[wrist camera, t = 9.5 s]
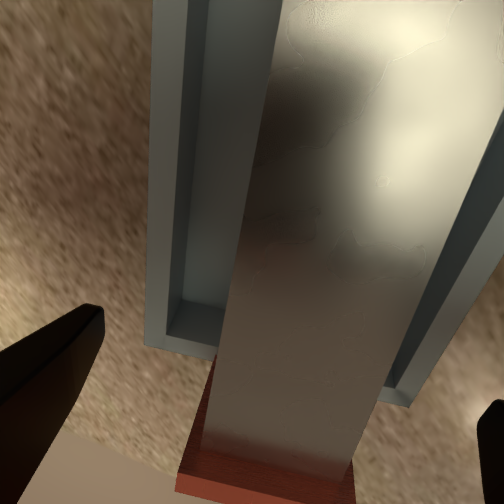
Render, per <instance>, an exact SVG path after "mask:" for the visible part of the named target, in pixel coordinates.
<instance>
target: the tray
mask: <svg viewBox="0 0 504 504" xmlns="http://www.w3.org/2000/svg"><path fill="white" fill-rule="evenodd" d="M282 4H283V0H153V11H152V50H151V90H150V129H149V169H148V208H147V248H146V287H145V327H144V345H146V346H150V347H154V348H158V349H163V350H167V351H171V352H175V353H179V354H184V355H188V356H192V357H196V358H201V359H205V360H209V361H214V357H215V354H216V355H217V354H218V349H219V343H220V338H221V332H222V327H223V322H224V316H225V311H226V306H227V300H228V295H229V289H230V284H231V279H232V273H233V268H234V263H235V257H236V252H237V246H238V241H239V236H240V230H241V225H242V219H243V214H244V209H245V203H246V198H247V193H248V187H249V182H250V176H251V171H252V166H253V160H254V155H255V149H256V144H257V139H258V133H259V128H260V123H261V117H262V112H263V106H264V101H265V96H266V90H267V85H268V80H269V74H270V69H271V63H272V58H273V53H274V47H275V42H276V36H277V31H278V26H279V20H280V15H281V10H282ZM503 255H504V108H503V110H502V113H501V115H500V117H499V120H498V122H497V124H496V126H495V129H494V131H493V133H492V136H491V138H490V140H489V143H488V145H487V147H486V150H485V152H484V154H483V156H482V159H481V161H480V163H479V166H478V168H477V170H476V173H475V175H474V177H473V180H472V182H471V184H470V187H469V189H468V191H467V193H466V196H465V198H464V200H463V203H462V205H461V207H460V210H459V212H458V214H457V217H456V219H455V221H454V223H453V226H452V228H451V230H450V233H449V235H448V237H447V240H446V242H445V244H444V247H443V249H442V251H441V253H440V256H439V258H438V260H437V263H436V265H435V267H434V270H433V272H432V274H431V277H430V279H429V281H428V283H427V286H426V288H425V290H424V293H423V295H422V297H421V300H420V302H419V304H418V307H417V309H416V311H415V313H414V316H413V318H412V320H411V323H410V325H409V327H408V330H407V332H406V334H405V337H404V339H403V341H402V343H401V346H400V348H399V350H398V353H397V355H396V357H395V360H394V362H393V364H392V367H391V369H390V371H389V374H388V376H387V378H386V380H385V383H384V385H383V387H382V390H381V392H380V394H379V397H378V399H377V400H378V401H382V402H386V403H391V404H395V405H399V406H403V407H408V408H409V407H410V405H411V404H412V402H413V400H414V399H415V397H416V396H417V394H418V392H419V391H420V389H421V387H422V386H423V384H424V383H425V381H426V379H427V378H428V376H429V375H430V373H431V371H432V370H433V368H434V366H435V365H436V363H437V362H438V360H439V358H440V357H441V355H442V354H443V352H444V350H445V349H446V347H447V345H448V344H449V342H450V341H451V339H452V337H453V336H454V334H455V332H456V331H457V329H458V328H459V326H460V324H461V323H462V321H463V320H464V318H465V316H466V315H467V313H468V311H469V310H470V308H471V307H472V305H473V303H474V302H475V300H476V299H477V297H478V295H479V294H480V292H481V290H482V289H483V287H484V286H485V284H486V282H487V281H488V279H489V278H490V276H491V274H492V273H493V271H494V269H495V268H496V266H497V265H498V263H499V261H500V260H501V258H502V256H503Z"/></svg>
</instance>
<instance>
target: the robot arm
mask: <svg viewBox="0 0 504 504" xmlns="http://www.w3.org/2000/svg"><path fill="white" fill-rule="evenodd" d="M104 336H105V319H104V309H103V308H102V307H101V306H97V305H93V304H89V303H85V304H82V305H81V306H79V307H77V308H75V309H74V310H72V311H70V312H68V313H67V314H65V315H63V316H61V317H60V318H58V319H56V320H54V321H53V322H51V323H49V324H47V325H46V326H44V327H42V328H40V329H39V330H37V331H35V332H33V333H32V334H30V335H28V336H26V337H25V338H23V339H21V340H19V341H18V342H16V343H14V344H12V345H11V346H9V347H7V348H5V349H4V350H2V351H0V504H17V502H18V501H19V499H20V497H21V495H22V494H23V492H24V490H25V488H26V487H27V485H28V483H29V482H30V480H31V478H32V476H33V475H34V473H35V471H36V470H37V468H38V466H39V465H40V463H41V461H42V459H43V458H44V456H45V454H46V453H47V451H48V449H49V447H50V446H51V444H52V442H53V440H54V439H55V437H56V435H57V434H58V432H59V430H60V429H61V427H62V425H63V423H64V422H65V420H66V418H67V417H68V415H69V413H70V411H71V410H72V408H73V406H74V404H75V402H76V401H77V399H78V396H79V394H80V392H81V390H82V388H83V385H84V383H85V381H86V379H87V376H88V374H89V372H90V370H91V367H92V365H93V363H94V361H95V358H96V356H97V354H98V352H99V349H100V347H101V345H102V343H103V340H104ZM477 438H478V448H479V458H480V467H481V477H482V486H483V494H484V501H485V504H504V400H501V399H497V400H495V401H493V402H492V403H491V405H490V406H489V407H488V409H487V410H486V411H485V412H484V414H483V415H482V416H481V417H480V419H479V421H478V423H477Z"/></svg>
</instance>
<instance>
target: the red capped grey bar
mask: <svg viewBox="0 0 504 504" xmlns="http://www.w3.org/2000/svg"><path fill="white" fill-rule="evenodd" d="M503 108H504V0H283V4H282V10H281V15H280V20H279V26H278V31H277V36H276V42H275V47H274V53H273V58H272V63H271V69H270V74H269V80H268V85H267V90H266V96H265V101H264V106H263V112H262V117H261V123H260V128H259V133H258V139H257V144H256V149H255V155H254V160H253V166H252V171H251V176H250V182H249V187H248V193H247V198H246V203H245V209H244V214H243V219H242V225H241V230H240V236H239V241H238V246H237V252H236V257H235V263H234V268H233V273H232V279H231V284H230V289H229V295H228V300H227V306H226V311H225V316H224V322H223V327H222V332H221V338H220V343H219V349H218V354H217V355H216V354H215V357H214V361H213V364H212V367H211V370H210V373H209V376H208V379H207V382H206V385H205V389H204V392H203V395H202V398H201V401H200V404H199V407H198V410H197V413H196V417H195V420H194V423H193V426H192V429H191V432H190V435H189V438H188V441H187V445H186V448H185V451H184V454H183V457H182V460H181V463H180V466H179V469H178V472H177V479H176V485H175V492H179V493H183V494H187V495H191V496H195V497H200V498H203V499H207V500H212V501H215V502H219V503H223V504H356V497H355V486H354V475H353V464H352V457H353V454H354V452H355V450H356V447H357V445H358V443H359V440H360V438H361V436H362V434H363V431H364V429H365V427H366V424H367V422H368V420H369V417H370V415H371V413H372V410H373V408H374V406H375V404H376V401H377V399H378V397H379V394H380V392H381V390H382V387H383V385H384V383H385V380H386V378H387V376H388V374H389V371H390V369H391V367H392V364H393V362H394V360H395V357H396V355H397V353H398V350H399V348H400V346H401V343H402V341H403V339H404V337H405V334H406V332H407V330H408V327H409V325H410V323H411V320H412V318H413V316H414V313H415V311H416V309H417V307H418V304H419V302H420V300H421V297H422V295H423V293H424V290H425V288H426V286H427V283H428V281H429V279H430V277H431V274H432V272H433V270H434V267H435V265H436V263H437V260H438V258H439V256H440V253H441V251H442V249H443V247H444V244H445V242H446V240H447V237H448V235H449V233H450V230H451V228H452V226H453V223H454V221H455V219H456V217H457V214H458V212H459V210H460V207H461V205H462V203H463V200H464V198H465V196H466V193H467V191H468V189H469V187H470V184H471V182H472V180H473V177H474V175H475V173H476V170H477V168H478V166H479V163H480V161H481V159H482V156H483V154H484V152H485V150H486V147H487V145H488V143H489V140H490V138H491V136H492V133H493V131H494V129H495V126H496V124H497V122H498V120H499V117H500V115H501V113H502V110H503Z"/></svg>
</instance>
